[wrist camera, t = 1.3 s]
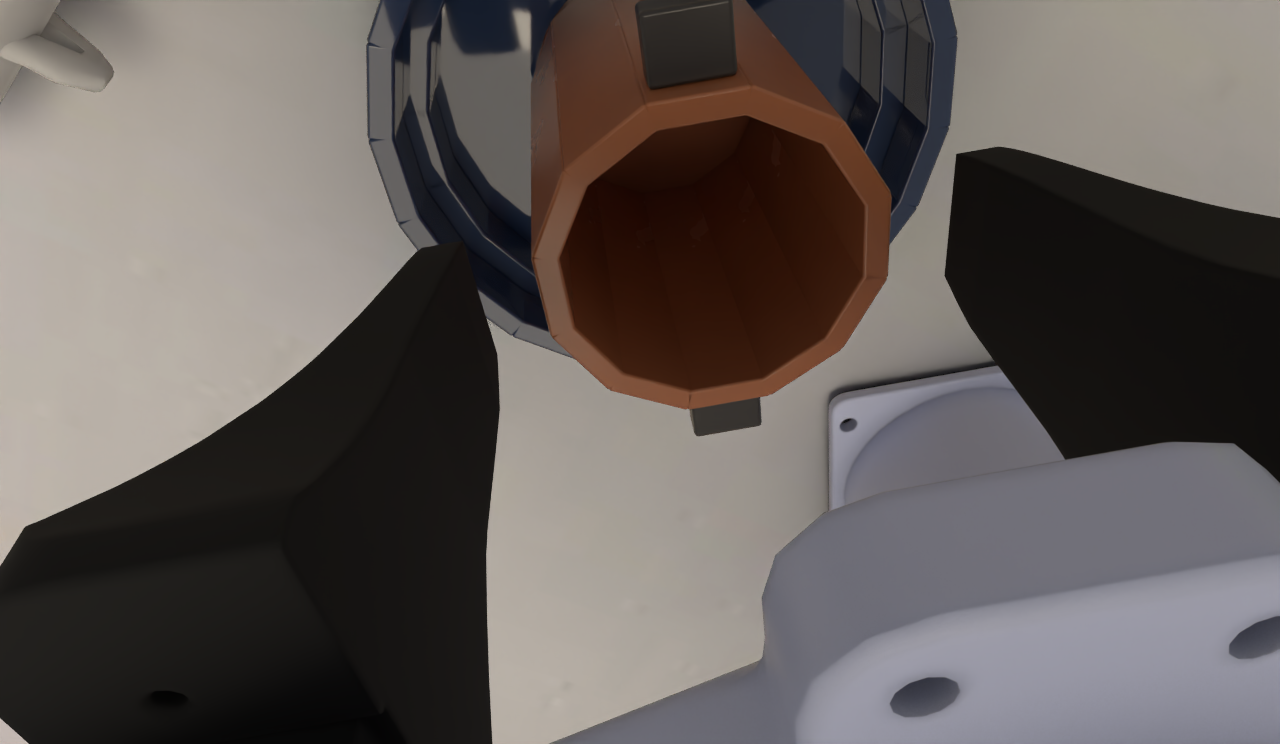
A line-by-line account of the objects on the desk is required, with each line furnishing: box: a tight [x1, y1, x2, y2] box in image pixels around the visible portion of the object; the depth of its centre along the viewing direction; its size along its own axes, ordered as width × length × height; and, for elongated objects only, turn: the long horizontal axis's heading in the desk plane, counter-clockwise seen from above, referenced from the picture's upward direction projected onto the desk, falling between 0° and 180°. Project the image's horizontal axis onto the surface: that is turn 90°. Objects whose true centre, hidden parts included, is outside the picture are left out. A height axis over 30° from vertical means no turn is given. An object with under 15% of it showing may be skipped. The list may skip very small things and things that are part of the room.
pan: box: [366, 0, 958, 359], centre depth 18 cm, size 11×11×3 cm
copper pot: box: [531, 0, 892, 436], centre depth 16 cm, size 7×5×8 cm
